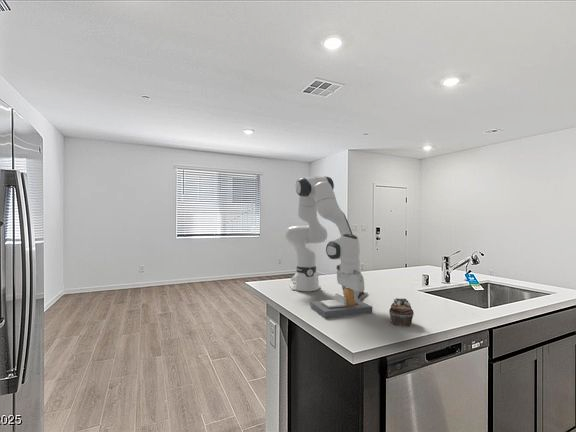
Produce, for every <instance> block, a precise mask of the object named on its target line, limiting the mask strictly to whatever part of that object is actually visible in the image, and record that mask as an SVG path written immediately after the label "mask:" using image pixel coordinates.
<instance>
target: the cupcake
mask: <svg viewBox="0 0 576 432" xmlns="http://www.w3.org/2000/svg"><path fill="white" fill-rule="evenodd" d="M388 312H389V317H390V323H391V324H392V325H394V326H397V327H402V328H404V327H405V328H407V327H411V325H412V323H413V317H414V316H415V315H414V314H415V313H414V310H413V308H412V305H411V303H410V302H409V300H407V298H397V297H396V298H394V299H393V302H392V303H391V304H390V308H389V311H388Z"/></svg>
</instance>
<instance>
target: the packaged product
mask: <svg viewBox="0 0 576 432" xmlns="http://www.w3.org/2000/svg"><path fill="white" fill-rule="evenodd" d="M367 296H368V292H367V291H365V290H364V291H363V292H359V295H358V300H360V301H363V300H364V299H365V298H366V297H367Z"/></svg>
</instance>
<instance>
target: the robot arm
mask: <svg viewBox="0 0 576 432" xmlns="http://www.w3.org/2000/svg"><path fill="white" fill-rule="evenodd" d="M334 189H335V184H334V181H333V179H332V177H329V176H326V175H325V176H320V175H319V176H308V177H301V178H298V179H297V180H296V183H295V191H296V194H297V195H298V209H297V210H298V212H297V213H298V214H297V216H298V218H299V219H300V220H301V221H303V222H306V223H307V225H293V226H288V228H286V231H285V239H286V241H287V242H288V243H289V244H291V245H292V246H293V247H294V250H295V252H296V257H297V258H296V259H297V260H296V261H297V266H296V270H295V271H296V272H295V274H294V275H293V276H292V277H291V278H290V281H291V282H290V283H289V284H288V285H289V287H290V289H291V291H299V292H315V291H318V290H319V289H321V288H322V287H321V285H320V284H319V283H320V282H319V275H318V274H317V266H316V253H315V252H314V251H313V250H312V249H310V248H308V247H307V246H306V244H307V245H308V244H320V243H325V242H326V240H327V238H328V230H327V229H326V228H325V227H324V226H323V225H322V224H321V223H320V221H319V219H318V215H319V216H320V217H322V218H323V219H325V220H327V221H330V222H332V223H333V224H335V225H336V227H337V229H338V231H339V234H340V236H339V238H337V239H333V240H331V241H328V242H327V244H326V248H325V253H326V256H327V257H328V258H329V259H330V260H335V261H337V260H340V263H339V264H337V265H336V267H335V268H336V270H337V271H336V282H337V283H338V284H339V285H340V286H341V289H342V295H344V288H349V289H351V290H354V296H353V299H354V300H358V295H359V292H363V291H364V292H365V279H364V276H363V274H362V272H361V271H360V266H361V265H360V241H359V237H358V236H357V235H355V234H353V232H352V229H351V226H350V224H349V221H348V219H347V217H346V215H345V214H346V213H344V212H343V210H342V209H341V207H340V206H339V204H338V201H337V197H336V194H335V192H334Z"/></svg>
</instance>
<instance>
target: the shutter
mask: <svg viewBox="0 0 576 432" xmlns="http://www.w3.org/2000/svg"><path fill="white" fill-rule="evenodd" d="M334 295H335V297H334V299H326V300H320V301H321V303H322V304H323V305H325V306H326V307H328V308H333V307H343V306H346V298H345V297H344V296H343V295H341V294H339V293H335V294H334Z"/></svg>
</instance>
